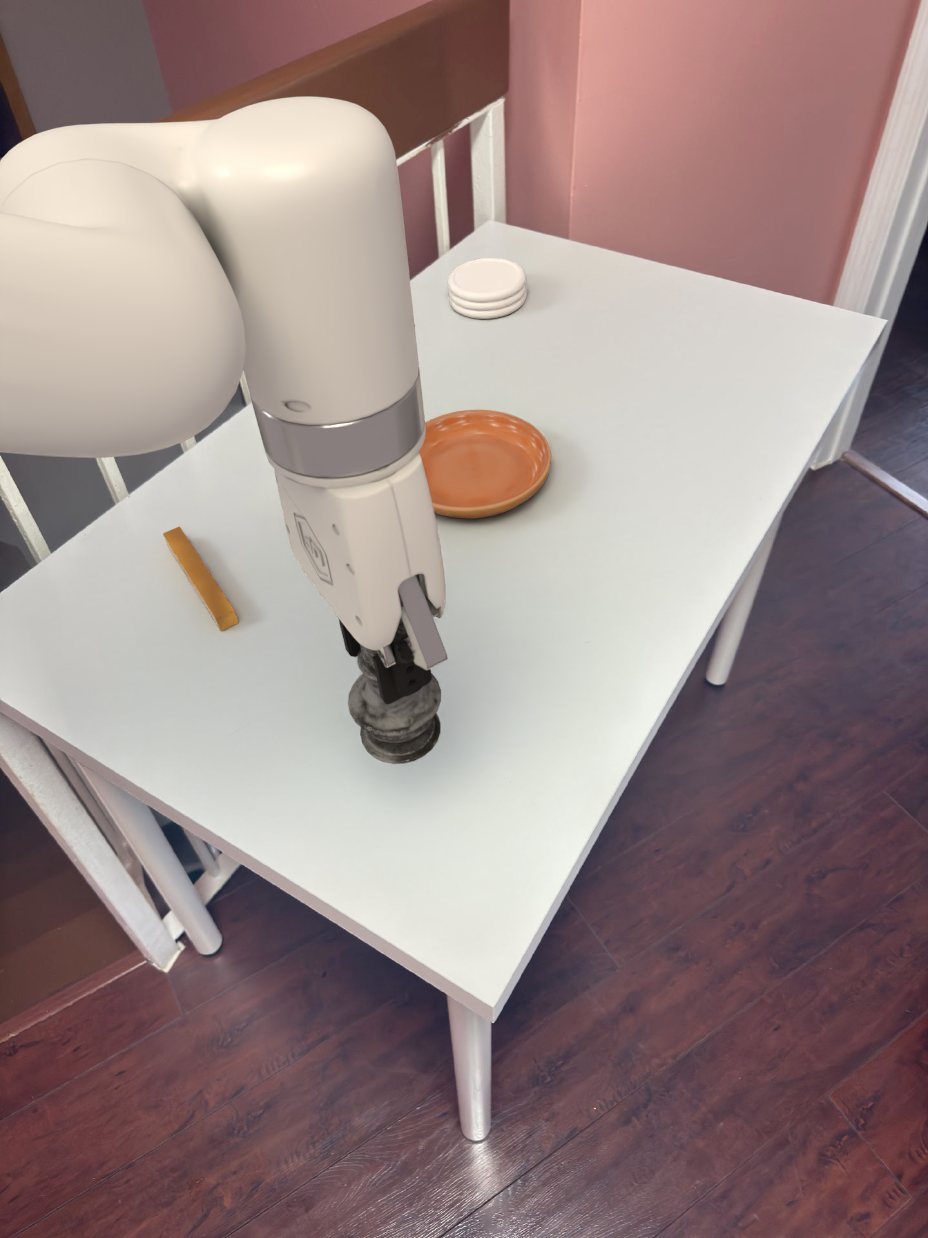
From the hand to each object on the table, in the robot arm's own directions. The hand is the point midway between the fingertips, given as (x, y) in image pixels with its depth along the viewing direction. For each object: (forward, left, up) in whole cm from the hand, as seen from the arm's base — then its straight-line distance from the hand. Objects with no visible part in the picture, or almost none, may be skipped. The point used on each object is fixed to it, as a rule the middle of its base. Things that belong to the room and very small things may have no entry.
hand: (388, 665), depth 55 cm
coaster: (+46, +60, -18) cm, 77 cm away
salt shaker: (0, 0, -7) cm, 7 cm away
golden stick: (-4, +34, -18) cm, 39 cm away
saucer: (+25, +31, -18) cm, 43 cm away
